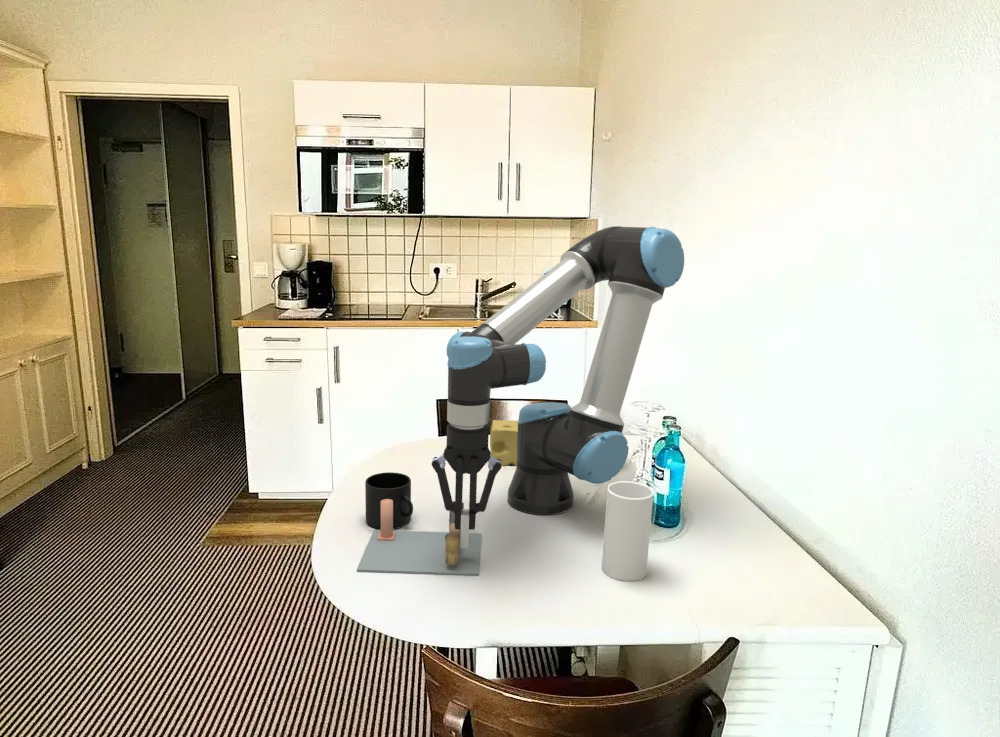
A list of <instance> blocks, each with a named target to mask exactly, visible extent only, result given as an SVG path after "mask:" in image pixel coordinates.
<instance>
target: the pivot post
mask: <svg viewBox="0 0 1000 737" xmlns="http://www.w3.org/2000/svg"><path fill="white" fill-rule="evenodd" d="M452 502H455V500H452ZM462 509H465V503H464V502H463V501H462ZM448 514H449V516H448V521H449V523H448V532H449V531H450V526H451V523H455V513H454V512H453V511H449V513H448ZM460 534H461V530H460ZM447 537H449V533H447V534H446V535H445V541H446V538H447ZM459 544H460V542H459Z"/></svg>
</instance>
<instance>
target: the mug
mask: <svg viewBox="0 0 1000 737" xmlns="http://www.w3.org/2000/svg"><path fill="white" fill-rule="evenodd" d="M364 483H365V486H364V489H365V494H364V495H365V521H366V524H367V525H368V526H369V527H370V528H374V529H375V530H381V500H383V499H391V500H393V530H396V529H400V528H402V527H405V526H406V525H408V524H409V523H410V521H411V519H412V518H411V517H412V515H413V513H414V505H413V502H412V480H411V478H410V477H409V476H408V475H406V474H404V473H401V472H392V471H391V472H380V473H379V472H378V473H376V474H372V475H370V476H368V477H367V478H366V479H365V482H364Z"/></svg>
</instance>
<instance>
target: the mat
mask: <svg viewBox="0 0 1000 737" xmlns="http://www.w3.org/2000/svg"><path fill="white" fill-rule="evenodd" d="M380 531H381V529H373V530H372V532H371V535H370V537H369V541H368V542H367V545H366V546H365V549H364V551H363V554H362V557H361V558H360V561H359V564H358V566H357V569H356V572H357V573H358V572H359V573H385V574H386V573H388V574H389V573H391V574H394V573H395V574H415V575H417V574H419V575H445V576H446V575H447V576H469V577H470V576H471V577H472V576H476V577H479V575H480V574H479V573H480V563H481V562H480V561H481V559H480V558H481V549H482V548H481V546H482V533H480V532H479V533H477V532H476V533H475V532H469V544H468V548H460V544H459V558H458V563H457V564H456V565H448V564H446V563H445V551H446V541H445V535H446V534H447V533H449V531H446V532H445V531H425V530H424V531H423V530H420V531H419V530H396V529H393V532H396V535H395V538H394V541H379V540H377V538H378V536H379V533H380Z"/></svg>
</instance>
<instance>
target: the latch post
mask: <svg viewBox="0 0 1000 737" xmlns="http://www.w3.org/2000/svg"><path fill="white" fill-rule="evenodd" d="M380 530H381V531H380V533H379V536H378V538H377V540H379V541H394V538H395V535H396V532H393V530H394V529H393V500H391V499H383V500H381V529H380Z"/></svg>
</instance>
